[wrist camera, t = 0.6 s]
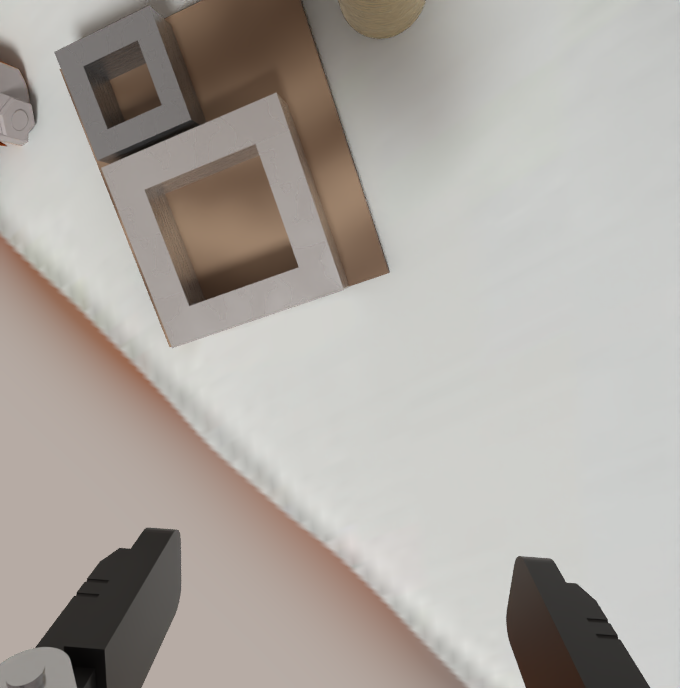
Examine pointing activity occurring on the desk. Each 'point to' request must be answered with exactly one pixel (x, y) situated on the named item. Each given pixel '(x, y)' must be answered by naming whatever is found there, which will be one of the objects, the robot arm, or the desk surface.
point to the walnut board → (250, 177)
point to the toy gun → (14, 107)
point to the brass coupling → (381, 16)
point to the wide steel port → (202, 161)
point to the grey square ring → (116, 59)
